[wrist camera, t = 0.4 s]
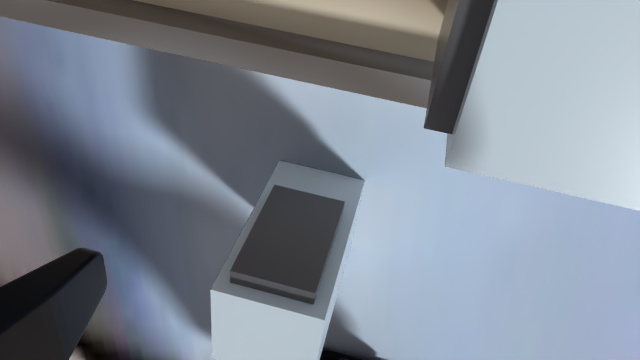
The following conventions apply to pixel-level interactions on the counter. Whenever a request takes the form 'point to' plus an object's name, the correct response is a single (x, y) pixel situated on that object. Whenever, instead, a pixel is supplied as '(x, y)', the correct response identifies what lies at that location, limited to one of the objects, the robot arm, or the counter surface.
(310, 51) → the rail
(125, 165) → the counter surface
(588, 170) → the block
